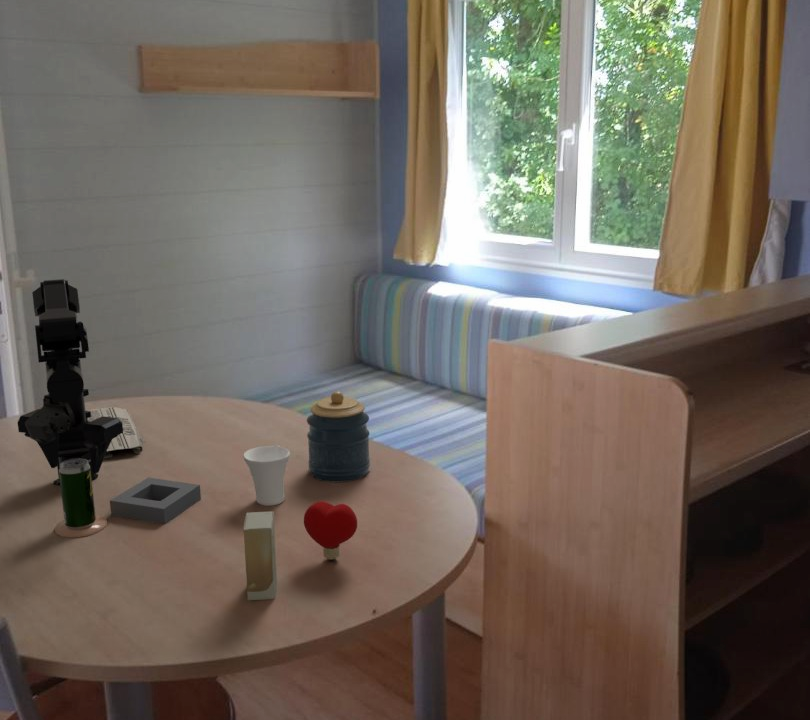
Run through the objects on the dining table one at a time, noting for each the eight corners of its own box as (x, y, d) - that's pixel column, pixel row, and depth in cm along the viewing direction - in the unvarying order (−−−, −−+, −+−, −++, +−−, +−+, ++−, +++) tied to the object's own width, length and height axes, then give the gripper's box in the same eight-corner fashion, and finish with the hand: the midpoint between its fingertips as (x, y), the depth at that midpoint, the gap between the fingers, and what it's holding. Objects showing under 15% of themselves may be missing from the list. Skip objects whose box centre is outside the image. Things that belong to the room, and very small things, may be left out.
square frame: (111, 515, 168) (109, 500, 167) (149, 491, 179) (148, 477, 178) (165, 523, 164) (163, 508, 163) (200, 499, 175) (199, 484, 174)
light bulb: (365, 554, 152) (363, 499, 149) (349, 573, 145) (347, 516, 143) (315, 546, 154) (313, 493, 152) (297, 565, 148) (295, 509, 146)
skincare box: (250, 581, 143) (246, 511, 140) (277, 580, 143) (274, 509, 140) (246, 602, 137) (242, 528, 134) (275, 600, 137) (271, 527, 134)
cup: (301, 494, 177) (299, 447, 174) (275, 512, 168) (273, 463, 166) (263, 487, 180) (261, 441, 178) (236, 505, 172) (233, 456, 170)
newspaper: (76, 420, 226) (74, 406, 225) (127, 413, 231) (125, 399, 230) (96, 465, 195) (94, 449, 194) (154, 455, 200) (152, 440, 199)
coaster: (44, 533, 161) (43, 531, 161) (77, 513, 169) (77, 511, 169) (85, 540, 158) (84, 538, 158) (117, 520, 166) (117, 518, 166)
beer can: (69, 533, 160) (61, 471, 157) (62, 522, 164) (55, 461, 161) (99, 526, 162) (93, 464, 159) (92, 516, 167) (85, 455, 164)
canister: (319, 487, 180) (316, 404, 176) (301, 466, 192) (297, 387, 187) (379, 477, 185) (377, 395, 181) (357, 456, 197) (355, 380, 192)
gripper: (-12, 395, 152) (0, 480, 156) (78, 404, 146) (87, 493, 150) (35, 378, 162) (45, 458, 166) (120, 386, 156) (128, 470, 160)
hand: (74, 470), depth 160 cm, fingers open, 9 cm apart
